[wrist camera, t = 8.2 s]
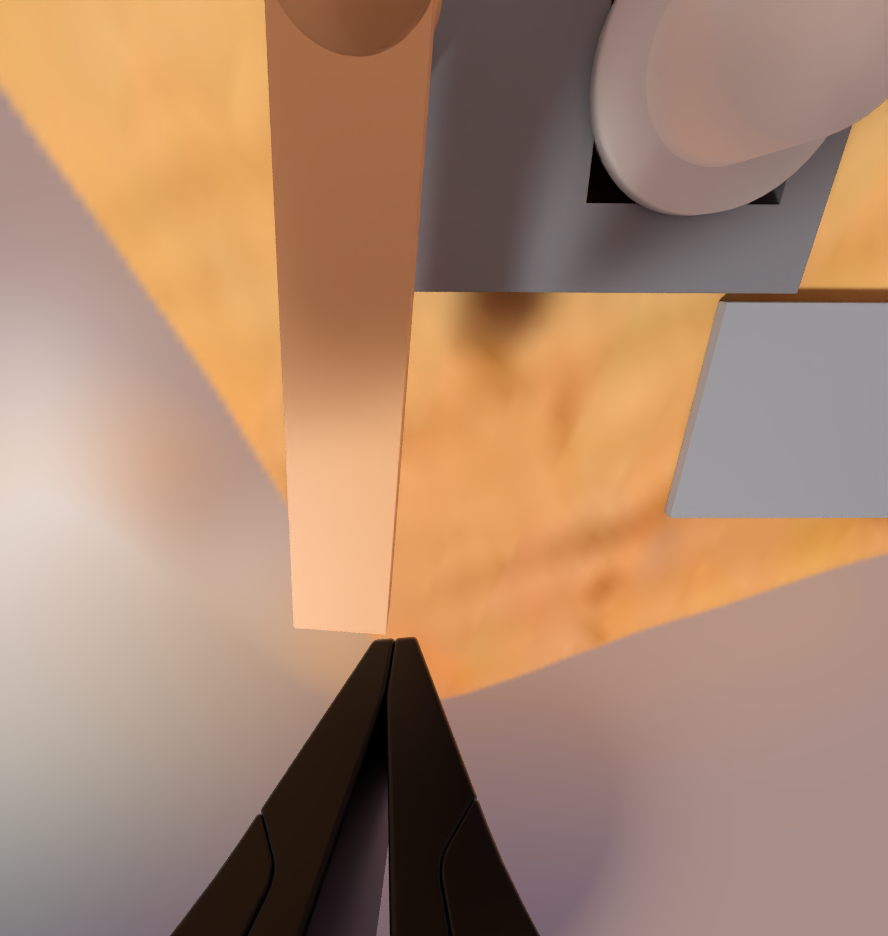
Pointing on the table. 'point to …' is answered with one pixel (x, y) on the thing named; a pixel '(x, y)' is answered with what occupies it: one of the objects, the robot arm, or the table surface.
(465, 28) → the socket base
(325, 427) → the light orange flat bar
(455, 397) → the table surface
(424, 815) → the robot arm
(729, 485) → the mat
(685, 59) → the plug
